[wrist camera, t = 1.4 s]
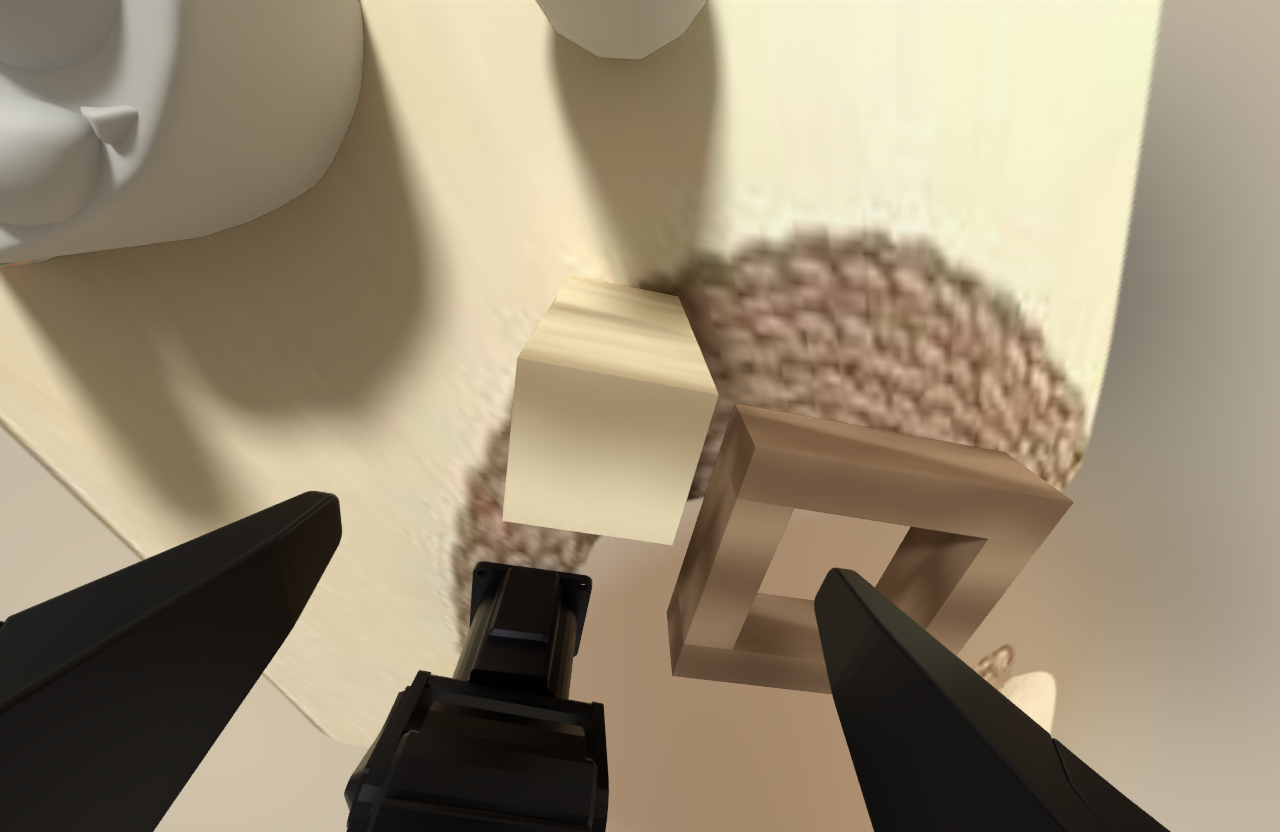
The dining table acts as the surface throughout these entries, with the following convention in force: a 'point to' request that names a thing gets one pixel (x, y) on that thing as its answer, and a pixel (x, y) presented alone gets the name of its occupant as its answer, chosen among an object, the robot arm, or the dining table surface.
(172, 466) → the dining table surface
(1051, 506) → the socket block
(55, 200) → the lumpy-topped squat cylinder
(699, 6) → the salt shaker
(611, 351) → the birch peg
